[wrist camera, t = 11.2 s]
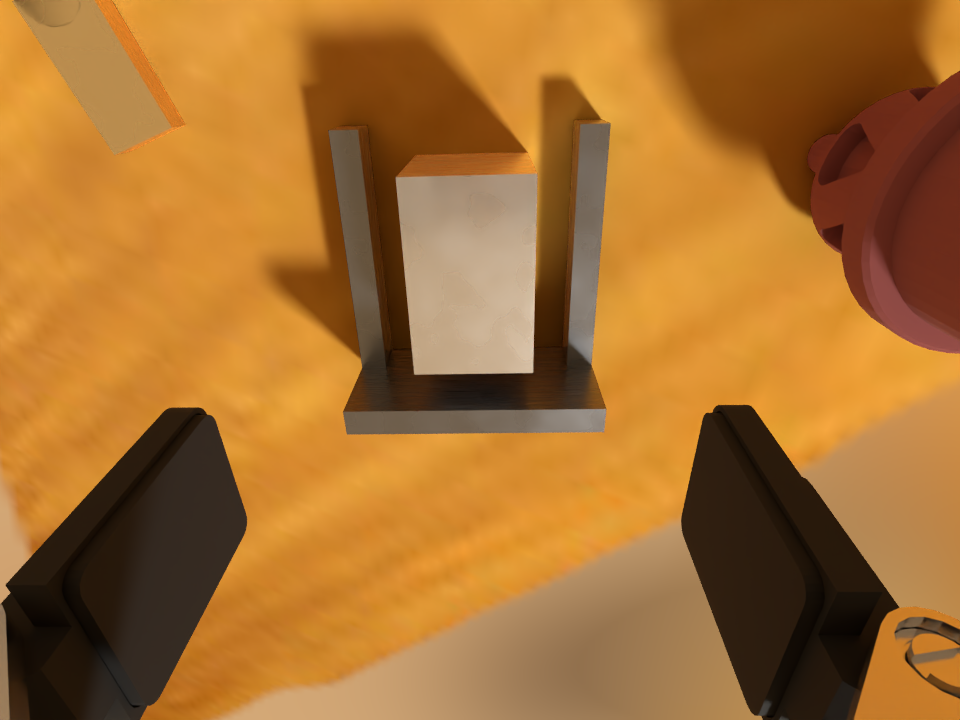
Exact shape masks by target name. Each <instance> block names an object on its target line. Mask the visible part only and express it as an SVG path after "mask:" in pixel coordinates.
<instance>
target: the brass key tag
mask: <svg viewBox="0 0 960 720" xmlns="http://www.w3.org/2000/svg"><path fill="white" fill-rule="evenodd" d="M12 2H13V3H14V5H15V6H16V8H17V9H18V11H19V12H20V14H21V15H22V17H23V18H24V20H25V21H26V23H27V24H28V26H29V27H30V29H31V30H32V32H33V33H34V35H35V36H36V38H37V39H38V41H39V42H40V44H41V45H42V47H43V48H44V50H45V51H46V53H47V54H48V56H49V57H50V59H51V60H52V62H53V63H54V65H55V66H56V68H57V69H58V71H59V72H60V74H61V75H62V77H63V78H64V80H65V81H66V83H67V84H68V86H69V87H70V89H71V90H72V92H73V93H74V95H75V96H76V98H77V99H78V101H79V102H80V104H81V105H82V107H83V108H84V110H85V111H86V113H87V114H88V116H89V117H90V119H91V120H92V122H93V123H94V125H95V126H96V128H97V129H98V131H99V132H100V134H101V135H102V137H103V138H104V140H105V141H106V143H107V144H108V146H109V147H110V149H111V150H112V152H113V153H114V155H117V154H122V153H126V152H130V151H132V150H135V149H137V148H139V147H141V146H143V145H145V144H147V143H149V142H151V141H153V140H156V139H158V138H160V137H162V136H164V135H166V134H168V133H170V132H172V131H175V130H177V129H179V128H181V127H183V126H185V125H186V124H185V123H184V121H183V119H182V118H181V116H180V114H179V113H178V111H177V109H176V108H175V106H174V104H173V103H172V101H171V99H170V98H169V96H168V94H167V93H166V91H165V89H164V87H163V86H162V84H161V82H160V81H159V79H158V77H157V76H156V74H155V72H154V71H153V69H152V67H151V66H150V64H149V62H148V61H147V59H146V57H145V56H144V54H143V52H142V50H141V49H140V47H139V45H138V44H137V42H136V40H135V39H134V37H133V35H132V34H131V32H130V30H129V29H128V27H127V25H126V24H125V22H124V20H123V19H122V17H121V15H120V13H119V12H118V10H117V8H116V7H115V5H114V3H113V2H112V0H14V1H12Z"/></svg>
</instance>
